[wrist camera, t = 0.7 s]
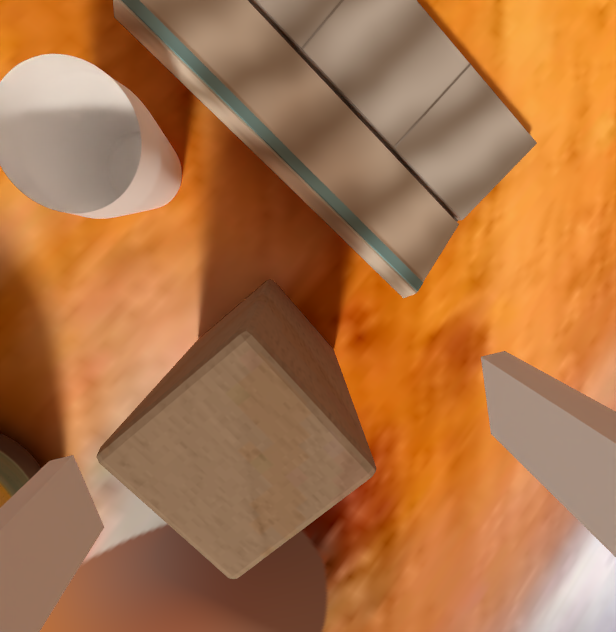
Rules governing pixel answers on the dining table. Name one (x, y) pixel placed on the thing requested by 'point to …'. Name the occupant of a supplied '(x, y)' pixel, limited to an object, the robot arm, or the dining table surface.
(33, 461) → the vase
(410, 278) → the plank
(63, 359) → the dining table surface
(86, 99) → the cup
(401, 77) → the laid row
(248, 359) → the wooden block
